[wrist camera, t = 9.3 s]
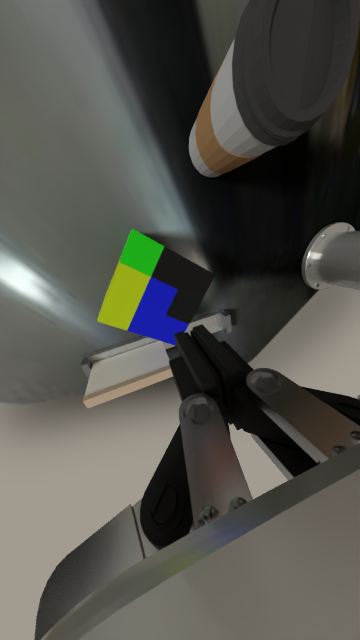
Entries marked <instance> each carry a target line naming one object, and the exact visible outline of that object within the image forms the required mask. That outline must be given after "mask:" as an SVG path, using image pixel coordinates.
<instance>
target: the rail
mask: <svg viewBox="0 0 360 640" xmlns="http://www.w3.org/2000/svg"><path fill="white" fill-rule="evenodd" d="M201 324H202V325H204V326H205V328H206V329H207V330H208V331H209V332H210V333H214V332H217V331H220V330H224V331H225V332H226V333H230V332H232V328H231V318H230V314H228V313H227V312H225V311H224V310H219V311H216V312H213V313H210V314H206V315H203V316H200V317H197V318H194V319H192V320H191V322H190V323H189V325H188V327H187V329H186V331H185V333H186V332H188V333H189V335H190V331H192V330H193V327H195V326H198V325H201ZM190 336H191V335H190ZM157 341H159V340H156V339H153V338H149V337H146V336H140V337H137V338H134V339H131V340H128V341H125V342H122V343H119V344H116V345H113V346H110V347H107V348H104V349H101V350H98V351H95V352H92V353H89V354H86V355H84V357H83V360H82V363H81V367H82V369H83V371H84V372H85V374H86V376H87V377H88V379H89V377H90V373H91V369H92V365H93V363H95V362H98V361H101V360H104V359H107V358H110V357H113V356H116V355H119V354H122V353H125V352H128V351H130V350H133V349H136V348H139V347H142V346H145V345H148V344H151V343H154V342H157ZM163 345H164V347H165V349H168V348H171V347H174V346H175V345H172V344H169V343H165V342H163Z"/></svg>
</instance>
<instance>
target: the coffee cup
mask: <svg viewBox="0 0 360 640" xmlns="http://www.w3.org/2000/svg"><path fill="white" fill-rule="evenodd" d="M358 27H359V1H358V0H249V2H248V4H247V6H246V8H245V10H244V12H243V14H242V16H241V19H240V23H239V26H238V29H237V33H236V36H235V39H234V41H233V43H232V45H231V47H230V49H229V51H228V53H227V56H226V58H225V60H224V62H223V63H222V65H221V67H220V69H219V71H218V73H217V75H216V76H215V78H214V81H213V83H212V85H211V87H210V89H209V91H208V94H207V96H206V98H205V100H204V102H203V105H202V107H201V109H200V111H199V114H198V117H197V119H196V122H195V124H194V126H193V128H192V130H191V134H190V138H189V152H190V157H191V160H192V163H193V164H194V166H195V168H196V169H197V170H198V171H199V172H200V173H201V174H202V175H204V176H206V177H217V176H219V175H221V174H223V173H227V172H229V171H231V170H233V169H235V168H237V167H239V166H241V165H243V164H245V163H247V162H249V161H251V160H253V159H255V158H257V157H259V156H260V155H262V154H263V153H265V152H267V151H269V150H270V149H272V148H274V147H276V146H282V145H286V144H288V143H290V142H292V141H294V140H295V139H297V138H298V137H299V136H300V135H301V134H302V133H304V132H306V131H307V130H309V129H310V128H311V127H312V126H313V125H314V124H315V123H316V122H317V121H318V120H319V118H320V117H321V115H322V114H323V112H324V111H325V110H326V109H327V108H328V107H329V106H330V105H331V104H332V103H333V101H334V100H335V98H336V97H337V95H338V94H339V92H340V90H341V89H342V86H343V84H344V82H345V80H346V77H347V75H348V73H349V70H350V67H351V63H352V60H353V56H354V53H355V48H356V41H357V35H358Z"/></svg>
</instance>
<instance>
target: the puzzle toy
mask: <svg viewBox="0 0 360 640" xmlns="http://www.w3.org/2000/svg"><path fill="white" fill-rule="evenodd" d="M214 277H215V274H213V273H211V272H209V271H208V270H206V269H204V268H202V267H200V266H199V265H197V264H195V263H193V262H191V261H190V260H188V259H186V258H184V257H182V256H181V255H179V254H177V253H175V252H173V251H172V250H170V249H168V248H166V247H164V246H163V245H161V244H159V243H157V242H155V241H154V240H152V239H150V238H148V237H146V236H145V235H143V234H141V233H139V232H137V231H136V230H134V229H132V231H131V232H130V233H129V236H128V239H127V241H126V244H125V246H124V249H123V252H122V254H121V257H120V259H119V262H118V264H117V267H116V270H115V272H114V275H113V277H112V280H111V282H110V285H109V288H108V290H107V293H106V295H105V298H104V301H103V304H102V307H101V310H100V313H99V316H98V319H97V321H98V322H101V323H104V324H108V325H111V326H114V327H117V328H120V329H124V330H127V331H130V332H133V333H137V334H140V335H143V336H146V337H149V338H153V339H156V340H159V341H162V342H165V343H169V344H172V345H175V346H177V345H176V342H175V338H174V334H175V333H178V332H181V331H184V333H185V331H186V329H187V327H188V325H189V323H190V322H191V320H192V318H193V316H194V314H195V312H196V310H197V308H198V307H199V305H200V303H201V301H202V299H203V297H204V295H205V293H206V292H207V290H208V288H209V286H210V284H211V282H212V280H213V278H214Z"/></svg>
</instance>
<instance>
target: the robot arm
mask: <svg viewBox="0 0 360 640" xmlns="http://www.w3.org/2000/svg"><path fill="white" fill-rule="evenodd" d="M302 276H303V279H304V282H305V283H306V284H307V285H308V286H309V287H311V288H314V289H320V290H321V289H326V288H329V287H331V286H333V285H337V286H343V287H347V288H352V289H357V290H360V231H355V229H354V228H353V227H352V226H351V225H350V224H348V223H343V222H342V223H334V224H330V225H328V226H326V227H325V228H323V229H322V230H321V231H319V232H318V233H317V234H316V236H315V237H314V238H313V239H312V241H311V242H310V244H309V246H308V247H307V249H306V252H305V254H304V257H303V261H302ZM190 335H191V336H190ZM190 335H189V333H188V332H186V333H184V331H181V332H178V333H175V334H174V338H175V342H176V345H177V349H178V353H179V356H180V357H178V358H175V359H173V360H170V361H169V365H170V368H171V371H172V374H173V377H174V380H175V383H176V386H177V389H178V392H179V394H180V397H181V400H182V403H181V406H180V408H179V419H180V425H179V427H178V429H177V431H176V433H175V434H174V436H173V438H172V440H171V442H170V444H169V446H168V448H167V450H166V452H165V454H164V456H163V458H162V460H161V462H160V463H159V465H158V467H157V469H156V471H155V473H154V475H153V477H152V479H151V481H150V483H149V485H148V487H147V489H146V491H145V493H144V496H143V498H142V499H141V500H140V501H138V502H137V503H136V504H135V505H133V506H131V504H130V505H129V506H128V507H126V508H125V509H124V510H123V511H121V512H120V513H119V514H117V515H116V516H115V517H114V518H113V519H111V520H110V521H109V522H108V523H106V524H105V525H104V526H103V527H101V528H100V529H99V530H98V531H96V532H95V533H94V534H93V535H92V536H90V537H89V538H88V539H87V540H85V541H84V542H83V543H82V544H80V545H79V546H78V547H77V548H75V549H74V550H73V551H72V552H70V553H69V554H68V555H67V556H66V557H65V558H64V559H63V560H62V561H61V562H60V563H59V564H58V565H57V566H56V568H55V570H54V571H53V573H52V574H51V576H50V578H49V579H48V581H47V584H46V586H45V588H44V591H43V593H42V596H41V598H40V603H39V608H38V613H37V619H36V629H35V639H34V640H360V395H359V396H358V397H357V399H356V398H352V397H349V396H345V395H340V394H335V393H330V392H325V391H320V390H315V389H310V388H305V387H300V386H298V385H297V384H296V383H294V382H293V381H291V380H290V379H288V378H287V377H285V376H284V375H282V374H281V373H279V372H277V371H275V370H272V369H268V368H259V369H255V370H253V369H252V368H251V367H250V366H249V365H248V364H247V363H246V362H245V361H244V360H243V359H242V358H241V357H240V356H239V355H238V354H237V353H236V352H235V351H234V350H233V349H232V348H231V347H230V346H229V345H228V344H227V343H226V342H225V341H222V342H219V341H218V340H217V339H216V338H215V337H214V336H213V335H212V334H211V333H210V332H209V331H208V330H207V329H206V328H205V326H204V325H202V324H201V325H198V326H195V327H193V330H192V331H190ZM228 423H229V424H230V425H231V424H234V425H235V427H236V429H237V430H239V429H241V428H242V429H243V430H244V431H245V432H248V433H251V436H252V437H253V439H254V440H255V441H256V443H257V444H258V445H259V446H260V447H261V449H262V450H263V451H264V452H265V453H266V454H267V456H268V457H269V458H270V459H271V460H272V462H273V463H274V464H275V465H276V466H277V467H278V469H279V470H280V471H281V472H282V473H283V475H284V476H285V477H286V478H287V479H288V481H287V482H285V483H283V484H281V485H279V486H277V487H276V488H274V489H272V490H270V491H268V492H266V493H264V494H262V495H261V496H259V497H257V498H255V499H253V498H252V496H251V493H250V491H249V488H248V485H247V482H246V480H245V477H244V474H243V472H242V469H241V466H240V464H239V461H238V458H237V456H236V453H235V450H234V448H233V445H232V442H231V439H230V431H229V425H228Z"/></svg>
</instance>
